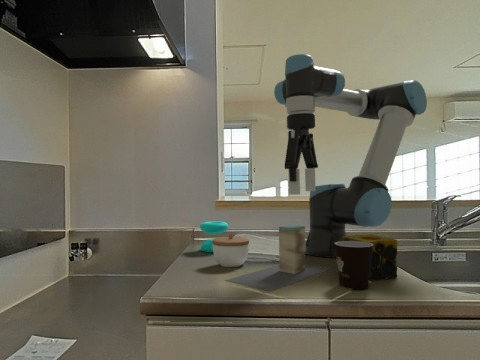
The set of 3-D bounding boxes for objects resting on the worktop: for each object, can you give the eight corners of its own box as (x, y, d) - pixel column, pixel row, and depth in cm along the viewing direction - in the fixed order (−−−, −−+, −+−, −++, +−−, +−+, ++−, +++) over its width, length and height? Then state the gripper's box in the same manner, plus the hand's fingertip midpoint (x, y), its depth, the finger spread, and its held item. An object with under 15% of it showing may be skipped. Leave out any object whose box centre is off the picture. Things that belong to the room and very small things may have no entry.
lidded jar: (227, 272, 106) (227, 237, 105) (205, 265, 114) (205, 233, 114) (256, 266, 112) (256, 234, 112) (233, 260, 121) (233, 230, 121)
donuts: (230, 223, 133) (201, 224, 132) (230, 252, 133) (201, 253, 132) (226, 220, 143) (199, 221, 142) (226, 247, 143) (199, 248, 142)
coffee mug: (375, 293, 86) (375, 247, 86) (335, 290, 87) (335, 246, 87) (369, 279, 97) (369, 239, 97) (333, 277, 99) (333, 238, 99)
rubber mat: (289, 263, 116) (289, 261, 116) (332, 270, 107) (332, 268, 107) (224, 282, 95) (224, 280, 95) (270, 292, 86) (270, 291, 86)
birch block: (289, 267, 108) (289, 224, 108) (305, 270, 105) (304, 226, 105) (279, 271, 105) (279, 226, 105) (294, 274, 101) (294, 228, 101)
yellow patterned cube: (340, 273, 104) (340, 236, 104) (371, 269, 108) (370, 233, 108) (365, 282, 94) (365, 241, 94) (398, 278, 98) (398, 239, 98)
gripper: (302, 120, 118) (304, 189, 118) (269, 110, 96) (272, 196, 96) (326, 117, 114) (328, 189, 115) (298, 106, 92) (301, 196, 93)
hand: (303, 192), depth 105 cm, fingers open, 13 cm apart
